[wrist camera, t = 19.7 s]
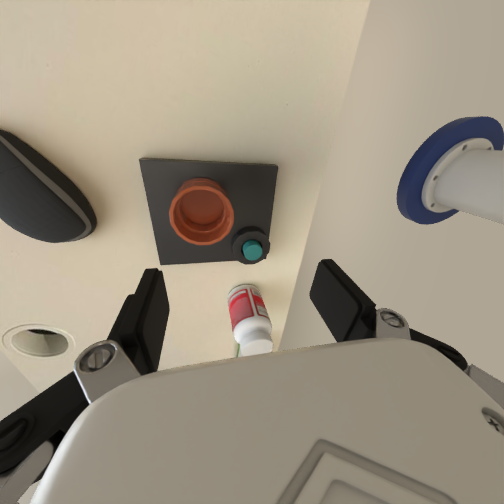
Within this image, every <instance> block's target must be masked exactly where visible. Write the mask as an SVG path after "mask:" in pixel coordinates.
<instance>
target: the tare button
mask: <svg viewBox="0 0 504 504" xmlns="http://www.w3.org/2000/svg"><path fill="white" fill-rule="evenodd" d="M243 252H244V255H245V257H246V259H248V260H251V261H253V260H257V259H258V258H260V257H261V255H262V248H261V246H260V244H259V243H258V242H257V241H256V240H249V241H247V242H245V243H244V245H243Z"/></svg>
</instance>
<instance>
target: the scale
mask: <svg viewBox="0 0 504 504" xmlns="http://www.w3.org/2000/svg"><path fill="white" fill-rule="evenodd" d="M139 162H140V167H141V172H142V177H143V182H144V187H145V191H146V196H147V201H148V206H149V211H150V216H151V221H152V226H153V231H154V236H155V240H156V245H157V250H158V255H159V260H160V265H171V264H188V263H204V262H221V261H239V262H241V263H243V264H256V263H258V262H260V261H261V260H263V259H266V256H267V254H268V253H269V250H270V242H269V233H270V226H271V218H272V210H273V202H274V195H275V187H276V179H277V172H278V166H277V165H275V164H256V163H236V162H216V161H196V160H175V159H155V158H141V159H139ZM193 178H208V179H210V180H213V181H215V182H217V183H218V184H219V185H220V186H221V187H222V188H223V189H224V190H225V191H226V193H227V195H228V198H229V200H230V203H231V205H232V208H233V210H234V223H233V226H232V228H231V230H230V232H229V234H227V235H226V236H225V237H224V238H223V239H222V240H221V241H218V242H216V243H213V244H211V245H196V244H193V243H190V242H187V241H185V240H184V239H183V238H181V237H180V236H179V235H177V233H176V232H175V230H174V229H173V227H172V225H171V223H170V216H169V210H170V207H171V204H172V200H173V198H174V195H175V193H176V191H177V189H178V188H179V187H180V186H181V185H182V184H183V183H184V182H185V181H188V180H190V179H193ZM249 240H256V241H257V242H258V243H259V244H260V246H261V248H262V255H261V257H260V258H258V259H257V260H253V261H251V260H248V259H246V257H245V255H244V252H243V245H244V243H245V242H247V241H249Z"/></svg>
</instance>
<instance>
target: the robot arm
mask: <svg viewBox="0 0 504 504" xmlns="http://www.w3.org/2000/svg"><path fill="white" fill-rule="evenodd" d="M421 198H422V203H423V205H424V207H425V208H426V209H428V210H430V211H433V212H437V213H442V212H446V211H449V210H451V209H456V210H460V211H463V212H466V213H469V214H472V215H476V216H479V217H482V218H485V219H488V220H491V221H495V222H498V223H501V224H504V151H500V150H494V148H493V145H492V143H491V142H490V141H489V140H488V139H484V138H470V139H466V140H464V141H461V142H460V143H458V144H456V145H454V146H453V147H452V148H450V149H449V150H448V151H447V152H446V153H445V154H443V155H442V156H441V157H440V159H439V160H438V161H437V162H436V163H435V165H434V166H433V167H432V169H431V170H430V172H429V174H428V176H427V178H426V180H425V182H424V185H423V189H422V197H421ZM310 299H311V300H312V302H313V304H314V305H315V307H316V309H317V310H318V312H319V314H320V315H321V317H322V318H323V320H324V322H325V323H326V325H327V326H328V328H329V330H330V331H331V333H332V335H333V336H334V338H335V340H336V341H337V343H331V344H325V345H318V346H310V347H304V348H297V349H291V350H283V351H277V352H270V353H263V354H256V355H250V356H243V357H237V358H230V359H224V360H217V361H211V362H205V363H199V364H193V365H187V366H181V367H176V368H171V369H166V370H162V371H157V369H158V365H159V360H160V355H161V350H162V345H163V340H164V336H165V331H166V326H167V321H168V316H169V302H168V297H167V292H166V287H165V282H164V278H163V273H162V271H159V270H158V268H152V269H145V271H144V273H143V276H142V278H141V280H140V283H139V285H138V287H137V289H136V292H135V294H131V295H128V296H127V298H126V300H125V302H124V304H123V306H122V308H121V310H120V313H119V315H118V317H117V319H116V321H115V323H114V325H113V327H112V329H111V332H110V334H109V336H108V338H107V340H103V341H100V342H97V343H95V344H93V345H91V346H89V347H88V348H86V349H85V350H84V351H83V352H82V353H81V354H80V355H79V356H78V358H77V359H76V361H75V364H74V371H73V372H71V373H70V374H68V375H67V376H65V377H64V378H62V379H61V380H59V381H58V382H56V383H55V384H54V385H52V386H51V387H49V388H48V389H46V390H45V391H43V392H42V393H40V394H39V395H38V396H36V397H35V398H33V399H32V400H31V401H29V402H27V403H26V404H24V405H23V406H22V407H20V408H19V409H17V410H16V411H14V412H13V413H11V414H10V415H8V416H7V417H6V418H4V419H3V420H1V421H0V504H19V503H18V502H17V501H18V500H19V499H20V497H21V496H22V495H23V494H24V492H25V491H26V490H27V489H28V488H29V486H30V485H31V484H33V483H35V482H37V481H39V480H40V479H41V481H40V483H39V485H38V487H37V489H36V491H35V493H34V495H33V497H32V499H31V501H30V504H504V383H503V382H501V381H499V380H498V379H496V378H494V377H493V376H491V375H489V374H488V373H486V372H484V371H483V370H481V369H479V368H478V367H476V366H474V365H473V364H471V365H470V366H469V365H468V364H467V362H466V360H465V358H464V357H463V356H462V355H461V354H460V353H459V352H458V351H457V350H455V349H454V348H453V347H451V346H449V345H447V344H445V343H443V342H441V341H438V340H436V339H434V338H431V337H429V336H426V335H424V334H422V333H420V332H417V331H415V330H413V329H410V328H409V325H408V323H407V321H406V320H405V318H403V317H402V316H401V315H400V314H398V313H397V312H395V311H393V310H390V309H387V308H381V309H378V310H376V309H375V306H376V304H375V303H374V302H373V301H371V299H370V298H369V297H368V296H367V295H366V294H365V293H364V292H363V291H362V290H361V289H360V288H359V287H358V286H357V285H356V284H355V283H354V281H352V279H351V278H350V277H349V276H348V275H346V273H345V272H344V271H343V270H342V269H341V268H340V267H339V266H338V265H337V264H336V263H335V262H334V261H333V260H332V259H323V260H321V262H319V263H318V266H317V270H316V273H315V277H314V280H313V283H312V287H311V290H310Z"/></svg>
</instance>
